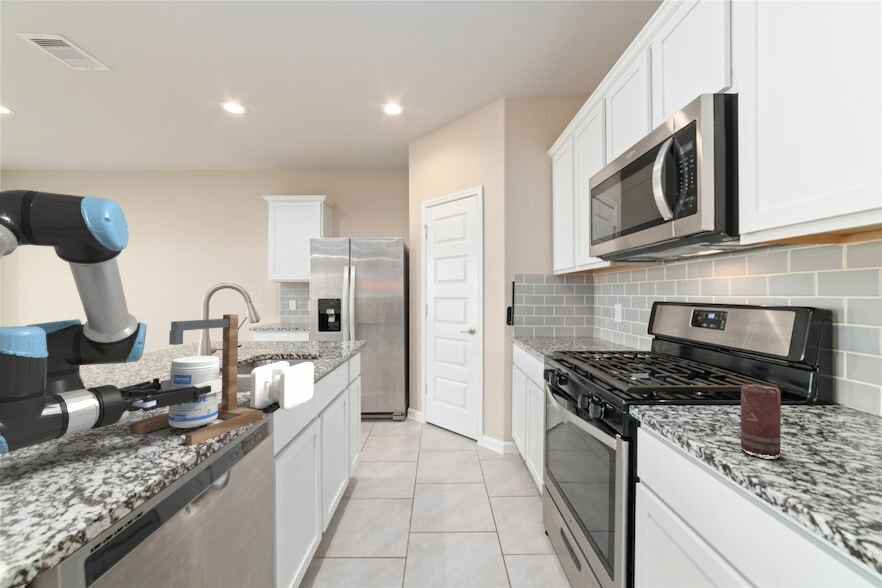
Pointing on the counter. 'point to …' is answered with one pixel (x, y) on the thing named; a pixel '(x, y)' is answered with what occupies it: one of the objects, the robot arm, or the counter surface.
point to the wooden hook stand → (228, 408)
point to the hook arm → (193, 328)
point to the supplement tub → (186, 375)
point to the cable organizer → (281, 385)
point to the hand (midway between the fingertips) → (205, 383)
